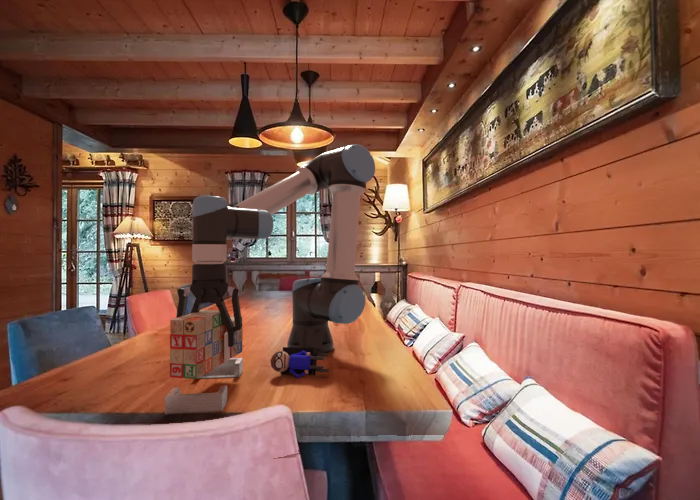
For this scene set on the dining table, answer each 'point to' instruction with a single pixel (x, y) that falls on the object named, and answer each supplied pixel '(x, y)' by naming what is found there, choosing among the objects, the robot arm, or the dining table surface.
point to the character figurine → (298, 361)
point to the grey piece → (226, 369)
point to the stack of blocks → (199, 343)
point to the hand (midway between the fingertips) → (209, 360)
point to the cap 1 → (195, 402)
